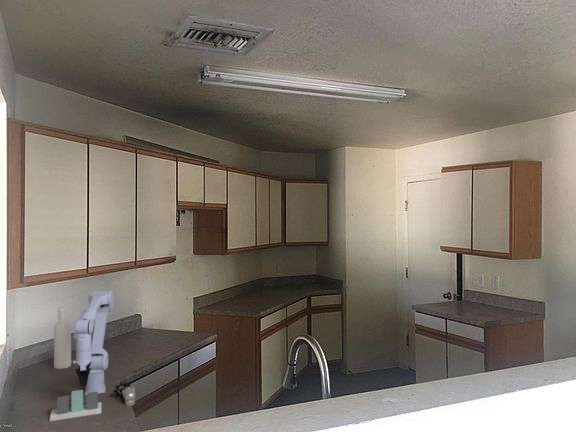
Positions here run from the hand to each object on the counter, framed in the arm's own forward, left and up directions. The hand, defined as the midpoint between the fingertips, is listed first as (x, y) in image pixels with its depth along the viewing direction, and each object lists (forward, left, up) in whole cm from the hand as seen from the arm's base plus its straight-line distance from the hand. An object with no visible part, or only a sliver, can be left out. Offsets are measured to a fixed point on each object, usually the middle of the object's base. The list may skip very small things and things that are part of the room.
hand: (84, 382), depth 186 cm
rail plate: (+6, -2, -9) cm, 11 cm away
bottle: (-55, -12, -10) cm, 57 cm away
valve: (+2, +16, -10) cm, 19 cm away
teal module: (+6, -2, -8) cm, 10 cm away
